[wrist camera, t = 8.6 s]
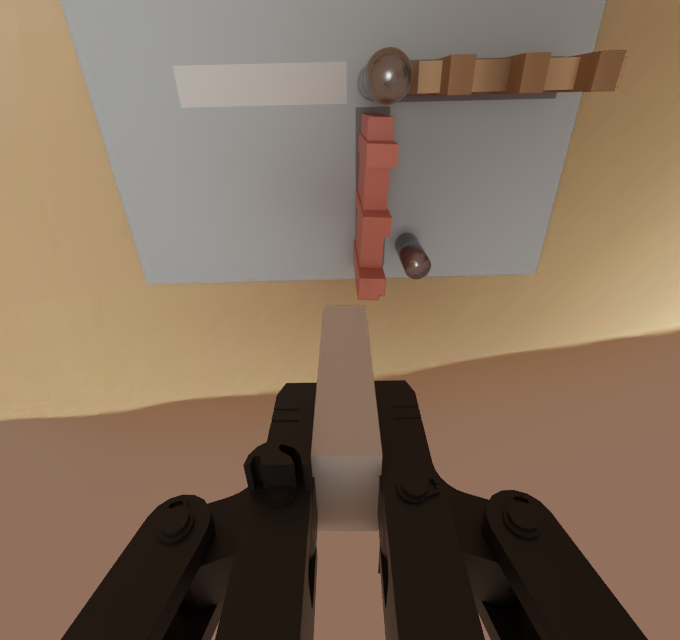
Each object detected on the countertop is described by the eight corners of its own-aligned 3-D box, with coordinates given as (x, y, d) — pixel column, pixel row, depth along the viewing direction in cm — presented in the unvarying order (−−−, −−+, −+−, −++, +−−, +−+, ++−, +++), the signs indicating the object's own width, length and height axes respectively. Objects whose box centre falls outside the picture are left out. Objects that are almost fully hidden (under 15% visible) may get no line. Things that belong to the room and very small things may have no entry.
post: (392, 60, 21) (419, 43, 14) (390, 102, 22) (414, 104, 15) (355, 61, 21) (366, 44, 14) (355, 103, 22) (365, 105, 15)
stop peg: (418, 232, 26) (432, 253, 22) (417, 255, 26) (429, 278, 23) (395, 233, 26) (405, 254, 22) (394, 255, 26) (403, 279, 23)
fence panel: (359, 112, 22) (368, 117, 16) (384, 113, 22) (401, 118, 16) (352, 267, 27) (357, 311, 21) (372, 267, 27) (382, 312, 21)
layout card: (606, -15, 20) (611, -17, 19) (532, 272, 28) (535, 274, 27) (63, -2, 20) (58, -4, 19) (149, 282, 28) (147, 284, 27)
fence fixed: (566, 62, 21) (651, 49, 15) (559, 92, 21) (638, 90, 16) (401, 66, 21) (426, 55, 15) (400, 96, 21) (423, 95, 16)
